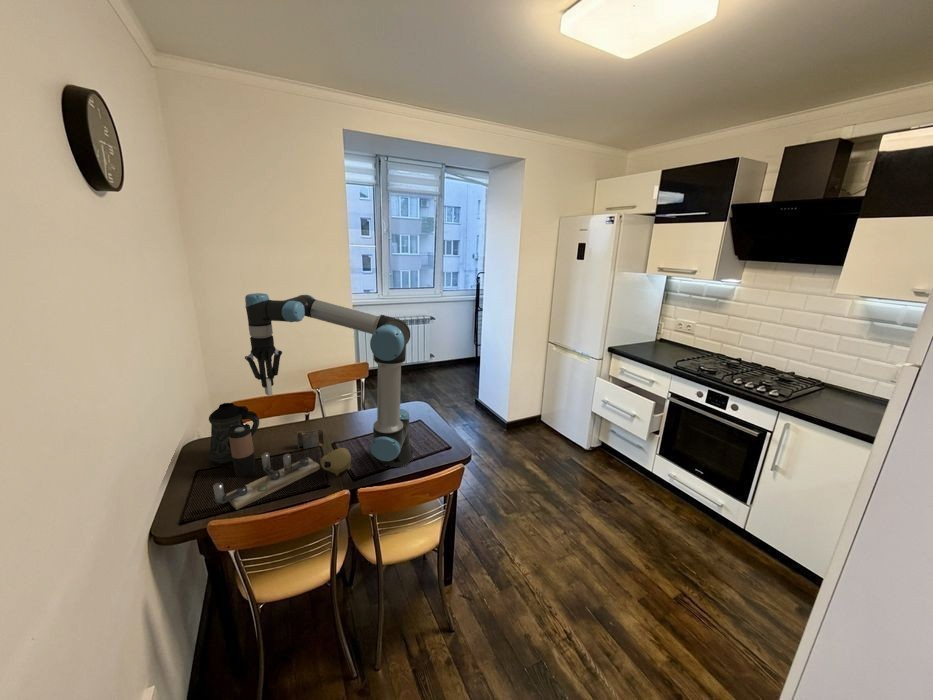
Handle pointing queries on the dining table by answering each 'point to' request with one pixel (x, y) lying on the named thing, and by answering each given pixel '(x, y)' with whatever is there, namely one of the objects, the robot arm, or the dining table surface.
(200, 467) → the dining table surface
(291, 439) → the dining table surface
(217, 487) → the grey metal coat hook
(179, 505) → the dining table surface
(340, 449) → the toy pig
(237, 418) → the beer stein
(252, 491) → the coat hook board
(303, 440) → the grey brown upright panel
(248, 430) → the travel mug
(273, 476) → the grey metal hook
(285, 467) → the grey coat hook
